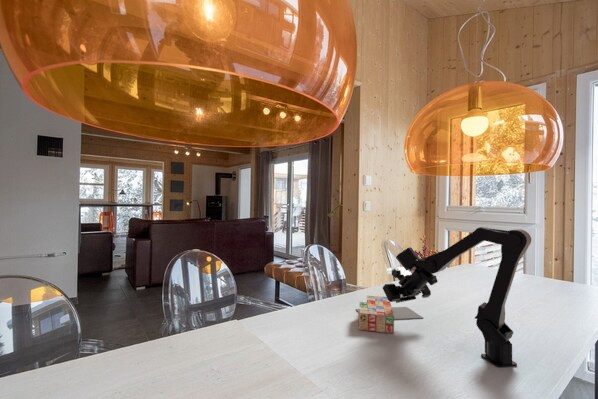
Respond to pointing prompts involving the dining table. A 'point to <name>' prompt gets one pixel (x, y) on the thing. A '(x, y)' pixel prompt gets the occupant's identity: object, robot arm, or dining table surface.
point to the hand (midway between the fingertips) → (396, 301)
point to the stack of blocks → (376, 315)
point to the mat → (403, 313)
